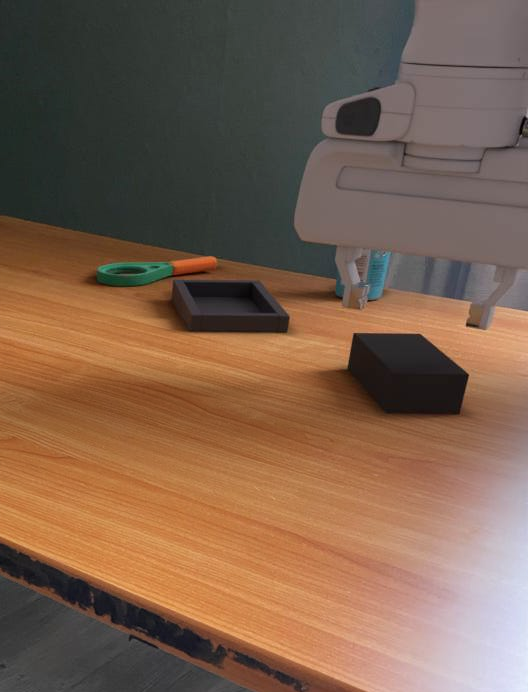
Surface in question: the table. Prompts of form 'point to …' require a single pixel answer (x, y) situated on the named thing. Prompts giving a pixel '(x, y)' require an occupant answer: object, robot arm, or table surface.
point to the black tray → (228, 306)
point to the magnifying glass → (151, 270)
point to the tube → (369, 272)
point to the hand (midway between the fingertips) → (413, 317)
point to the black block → (407, 374)
